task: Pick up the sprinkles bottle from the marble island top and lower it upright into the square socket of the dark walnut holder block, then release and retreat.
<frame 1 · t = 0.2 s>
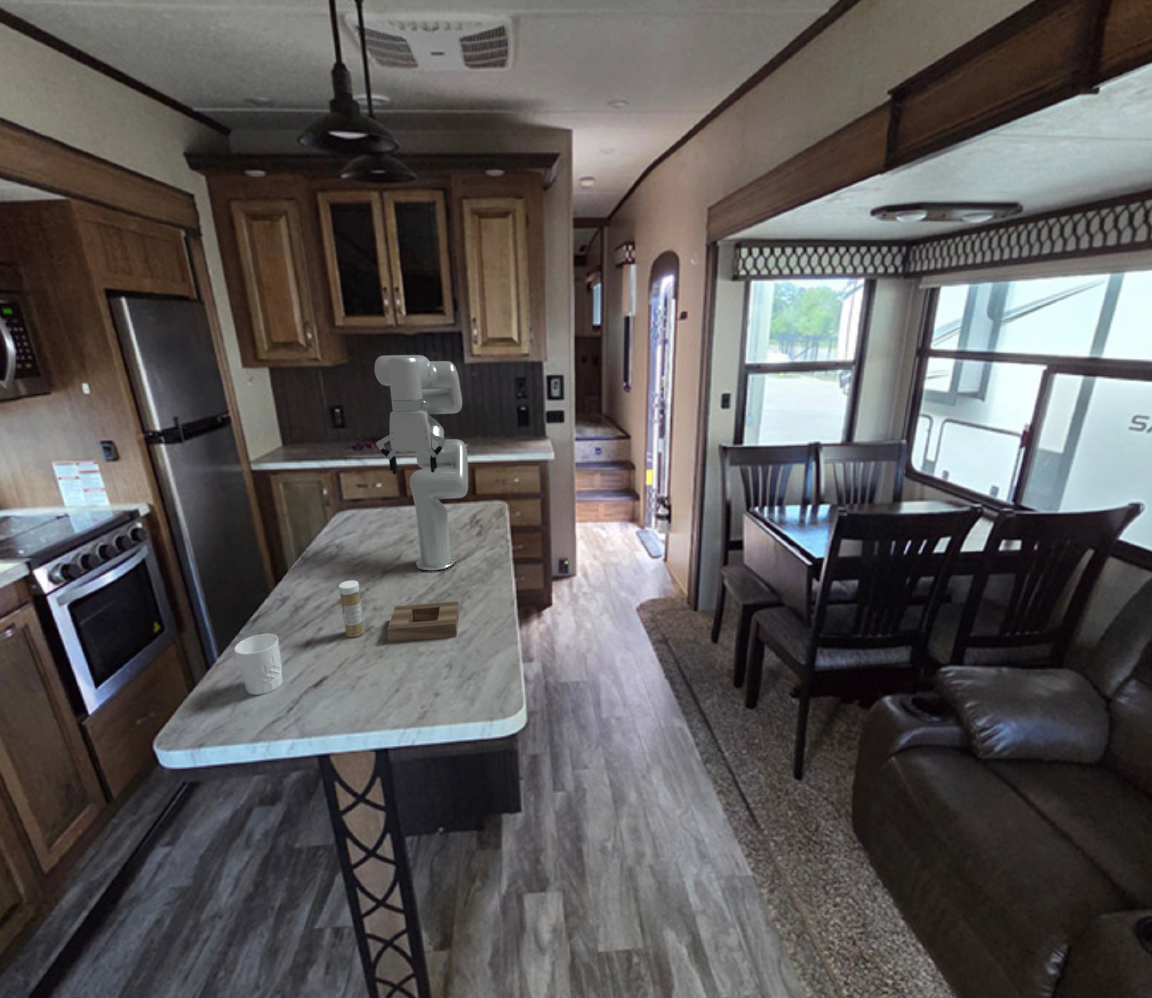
hand: (414, 472, 142), 36 cm above the kitchen island, tool pointing down, fingers open, 9 cm apart
walnut holder: (425, 627, 137), on the kitchen island
sprinkles bottle: (355, 634, 134), on the kitchen island
white cup: (265, 686, 114), on the kitchen island
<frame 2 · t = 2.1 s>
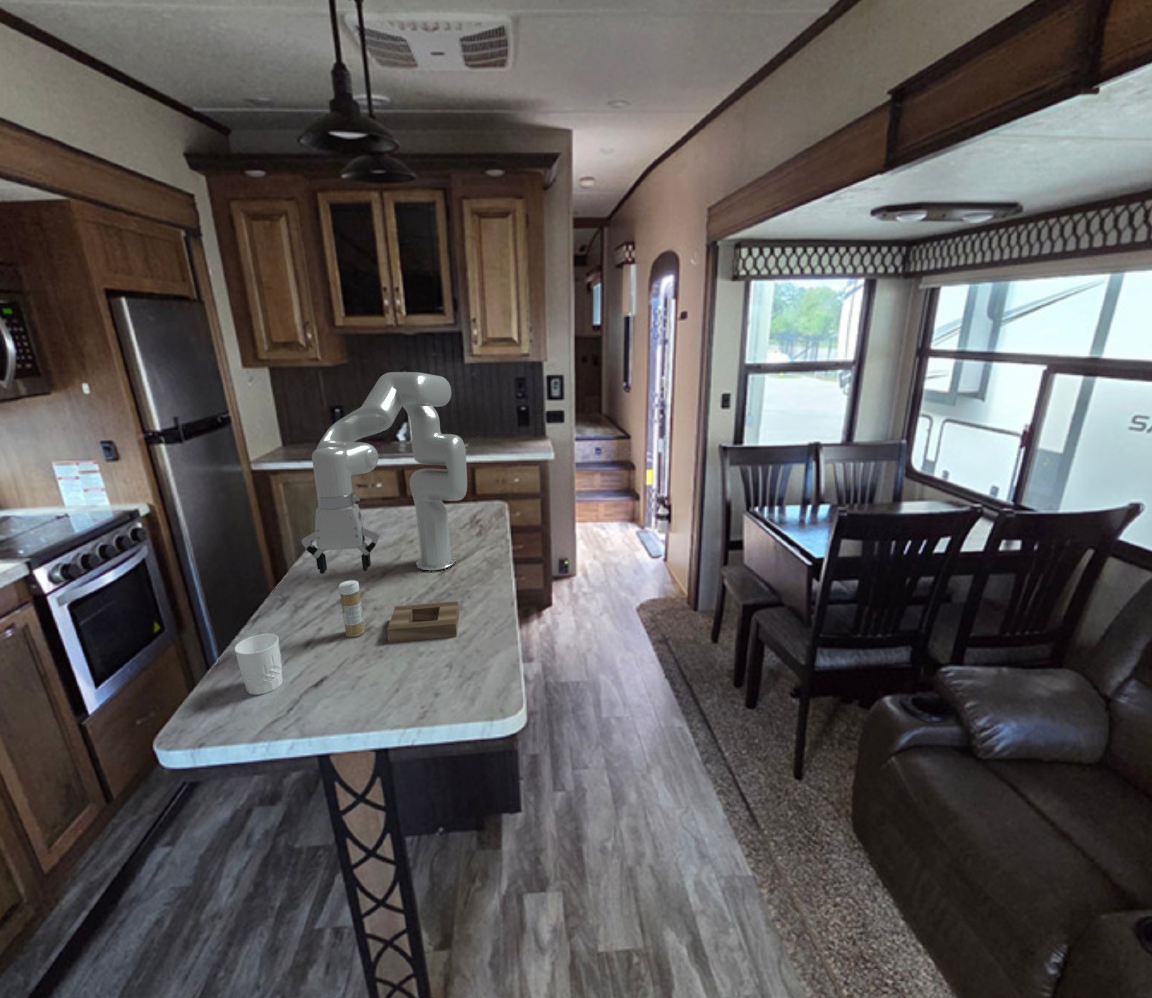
hand: (345, 570, 129), 17 cm above the kitchen island, tool pointing down, fingers open, 9 cm apart
nothing on the kitchen island moved.
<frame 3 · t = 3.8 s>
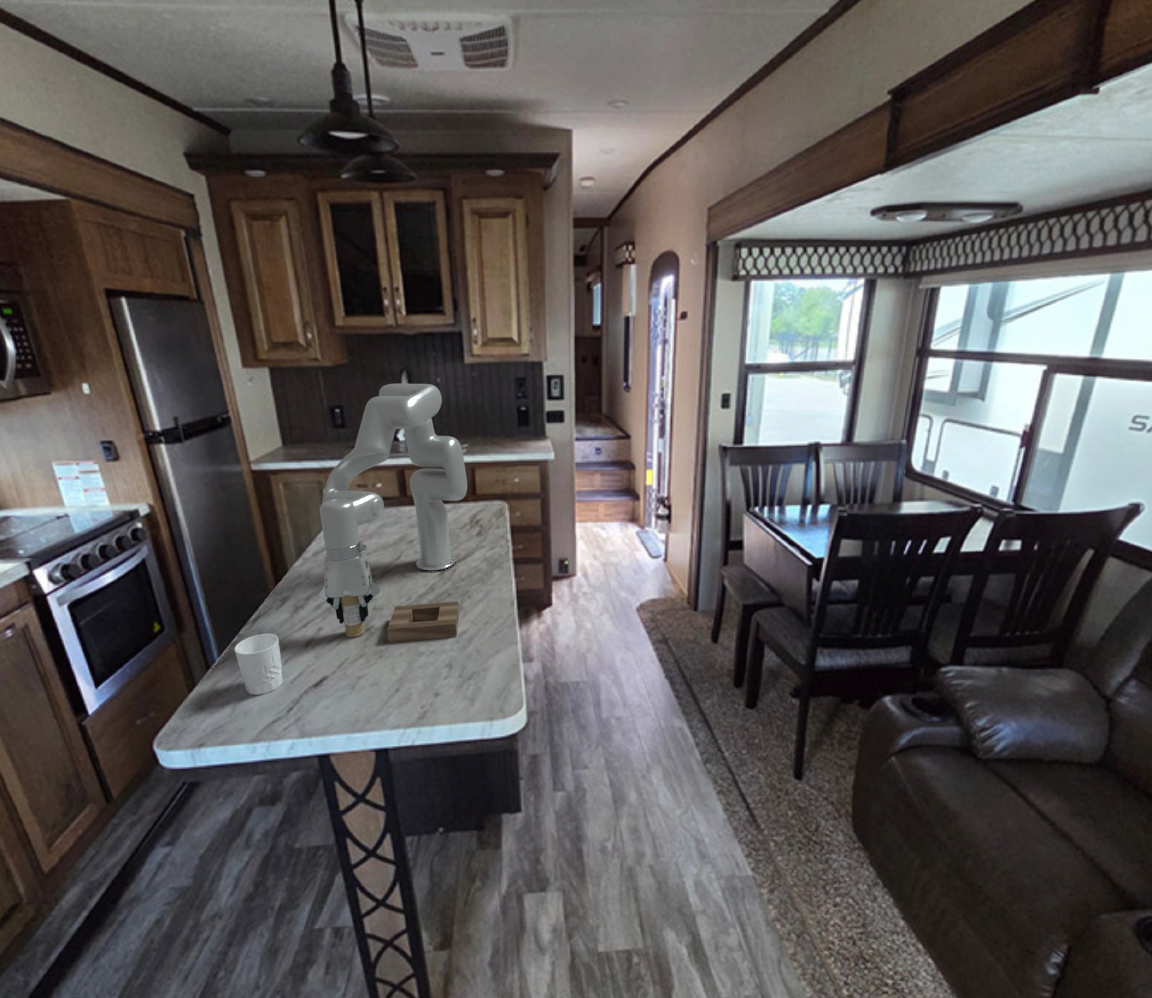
hand: (353, 619, 133), 4 cm above the kitchen island, tool pointing down, fingers closed on sprinkles bottle, 4 cm apart
sprinkles bottle: (355, 633, 134), on the kitchen island, touching gripper
everything else where it was.
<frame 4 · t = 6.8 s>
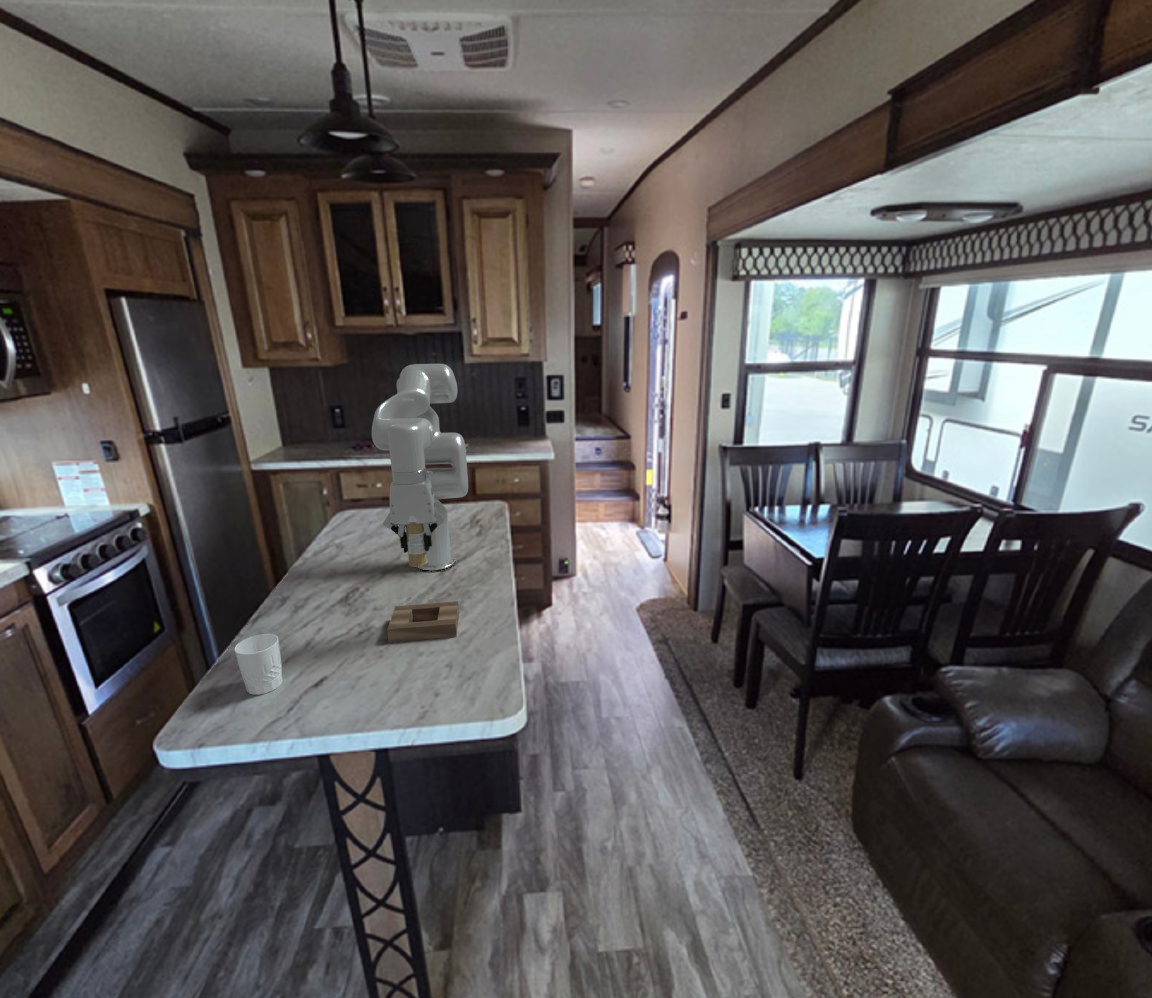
hand: (416, 549, 131), 21 cm above the kitchen island, tool pointing down, fingers closed on sprinkles bottle, 4 cm apart
sprinkles bottle: (418, 564, 132), point 17 cm above the kitchen island, touching gripper
everything else where it was.
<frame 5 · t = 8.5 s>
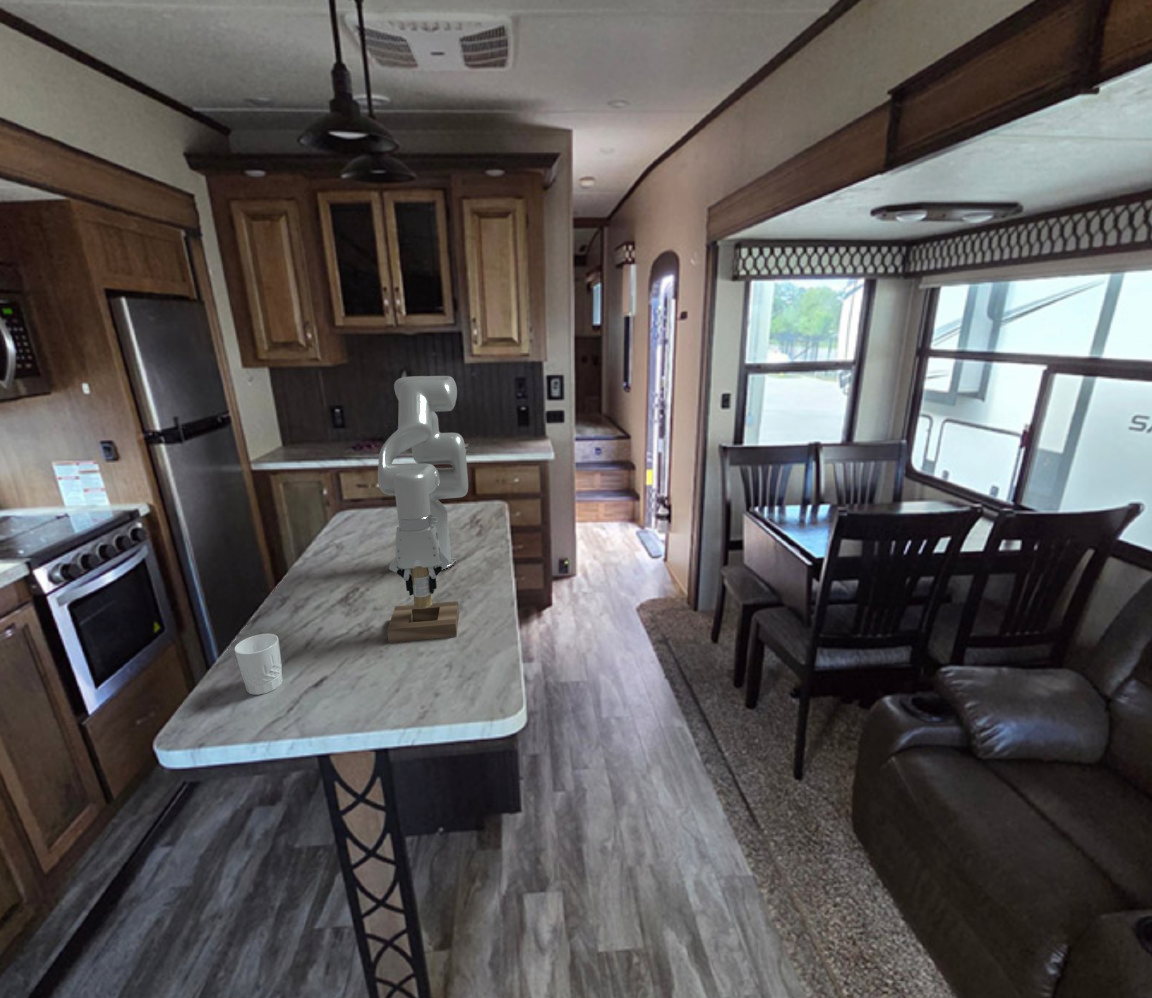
hand: (422, 591, 134), 10 cm above the kitchen island, tool pointing down, fingers closed on sprinkles bottle, 4 cm apart
sprinkles bottle: (423, 606, 135), point 6 cm above the kitchen island, touching gripper
everything else where it was.
when the fingers open (5 cm above the kitchen island, at t = 9.7 s): sprinkles bottle drops 1 cm, resting in walnut holder.
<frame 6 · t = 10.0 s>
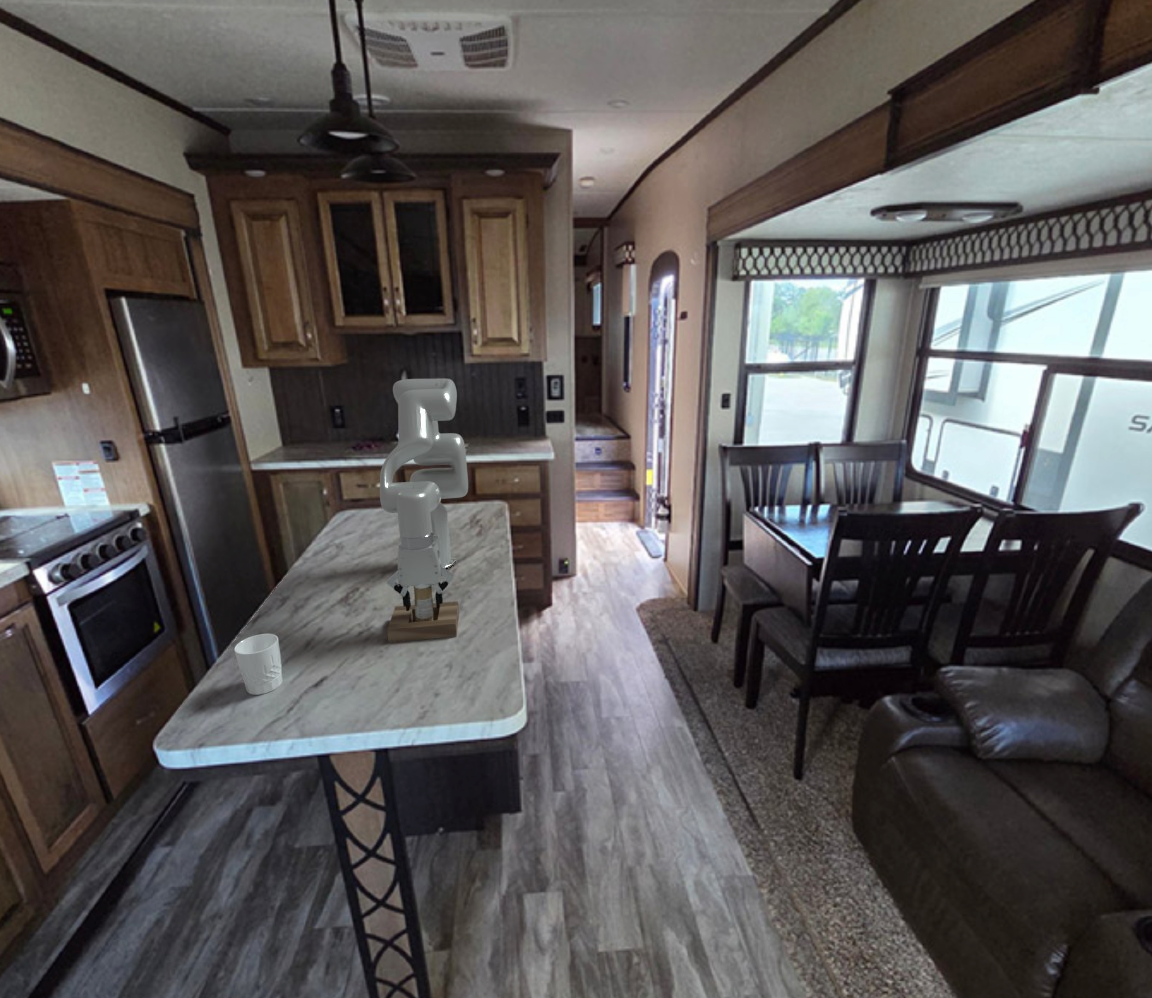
hand: (423, 606, 135), 6 cm above the kitchen island, tool pointing down, fingers open, 6 cm apart
sprinkles bottle: (425, 627, 137), resting in walnut holder
everything else where it was.
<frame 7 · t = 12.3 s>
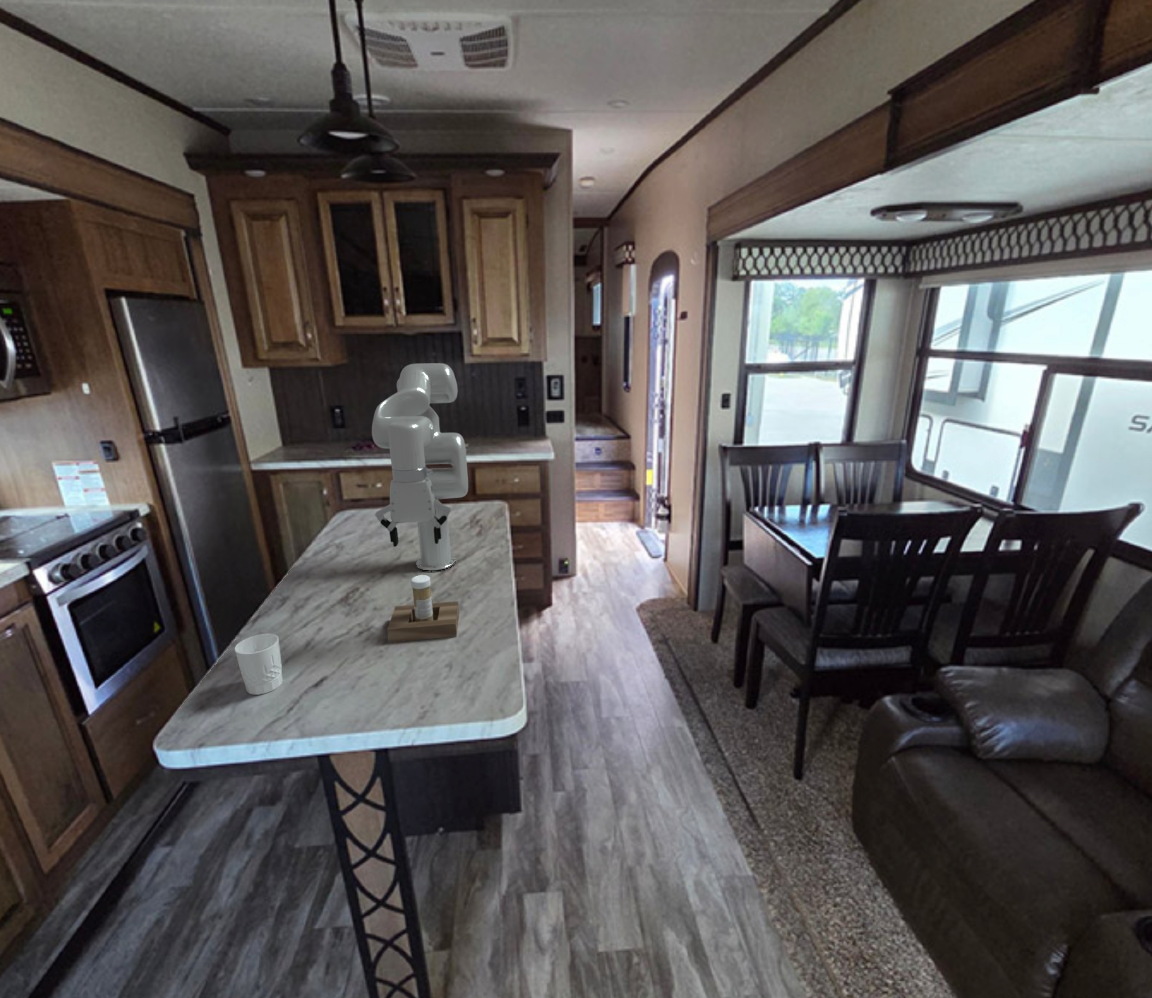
hand: (416, 543, 131), 22 cm above the kitchen island, tool pointing down, fingers open, 9 cm apart
nothing on the kitchen island moved.
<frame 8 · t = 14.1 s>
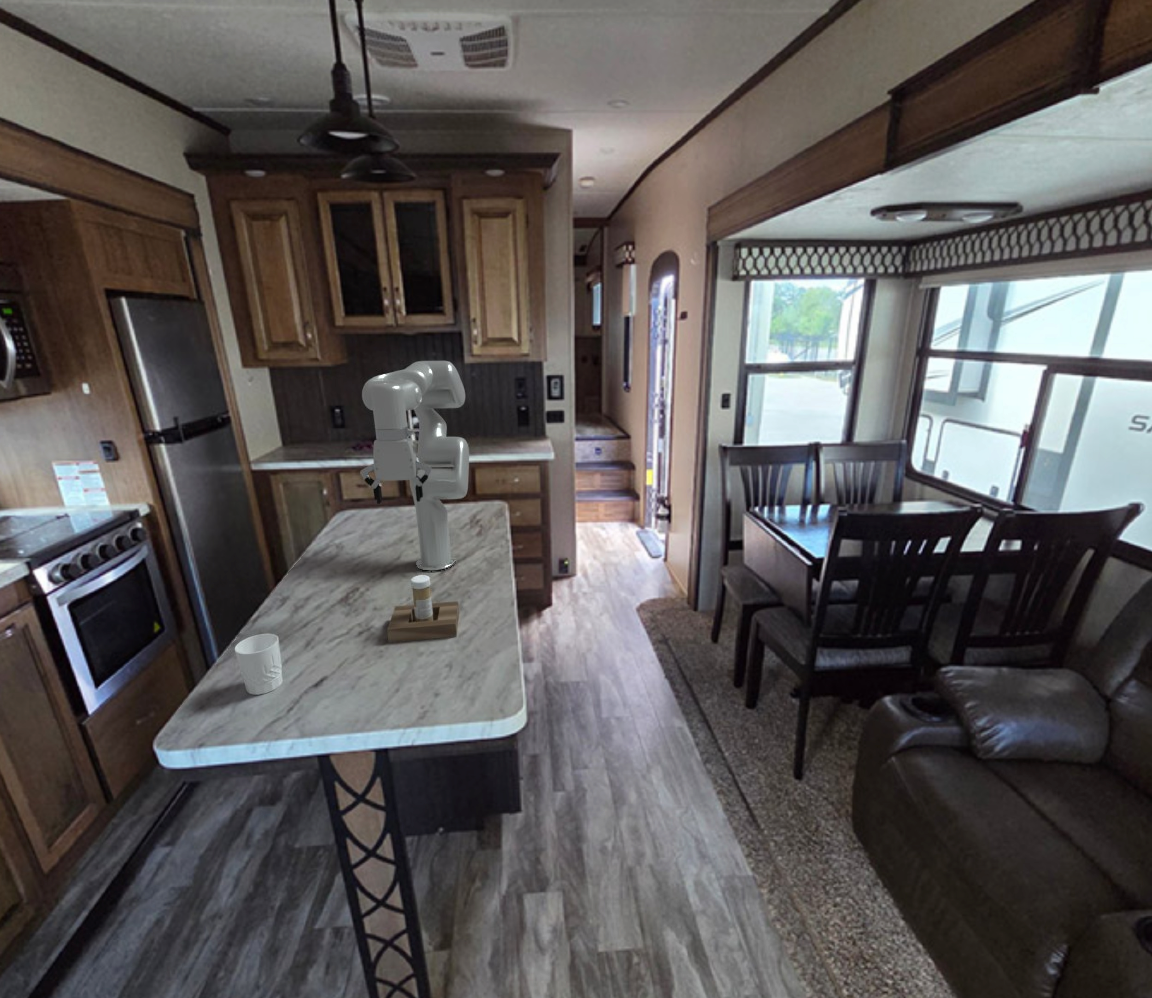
hand: (399, 501, 138), 30 cm above the kitchen island, tool pointing down, fingers open, 9 cm apart
nothing on the kitchen island moved.
at the end: sprinkles bottle 0.1 cm off-centre on the walnut holder, point 0.0 cm above the walnut holder's base; sprinkles bottle tilted 0°; the gripper is holding nothing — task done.
